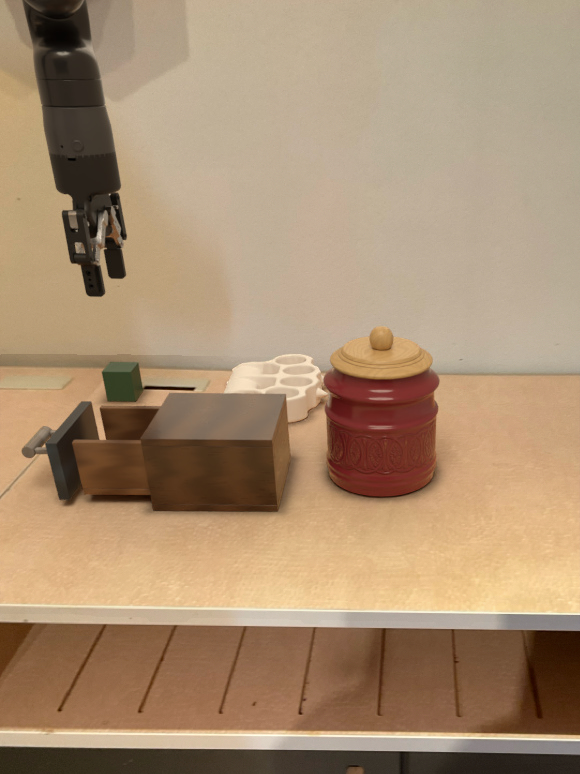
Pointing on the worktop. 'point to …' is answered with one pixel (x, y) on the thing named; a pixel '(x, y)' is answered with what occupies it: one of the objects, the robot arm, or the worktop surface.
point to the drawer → (96, 451)
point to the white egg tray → (281, 382)
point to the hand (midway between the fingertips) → (107, 286)
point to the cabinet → (217, 452)
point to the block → (122, 381)
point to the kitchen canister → (381, 415)
